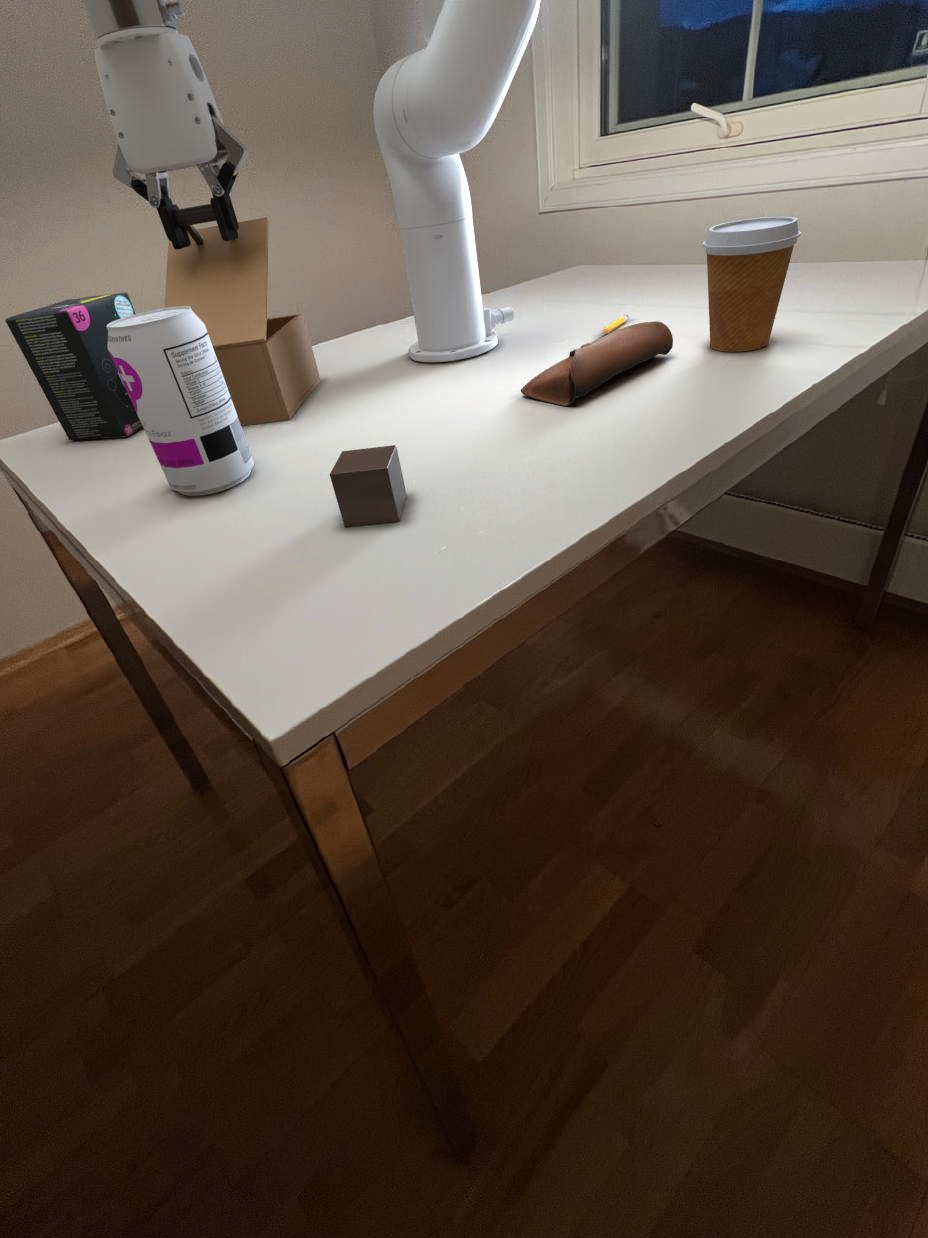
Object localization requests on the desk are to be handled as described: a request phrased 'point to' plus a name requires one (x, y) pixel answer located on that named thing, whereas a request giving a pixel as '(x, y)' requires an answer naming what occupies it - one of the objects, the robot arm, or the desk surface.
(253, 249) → the flap
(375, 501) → the block
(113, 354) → the supplement can
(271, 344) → the carton
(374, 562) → the desk surface
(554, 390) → the sunglasses case
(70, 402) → the tampon box
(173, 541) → the desk surface
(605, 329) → the pencil
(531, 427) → the desk surface
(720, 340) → the disposable coffee cup
